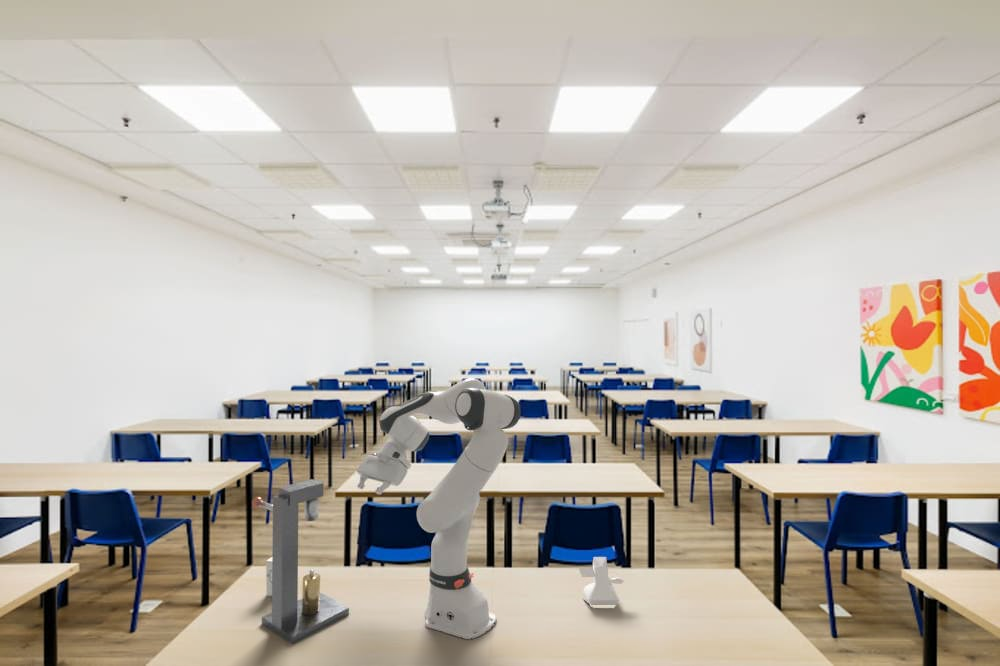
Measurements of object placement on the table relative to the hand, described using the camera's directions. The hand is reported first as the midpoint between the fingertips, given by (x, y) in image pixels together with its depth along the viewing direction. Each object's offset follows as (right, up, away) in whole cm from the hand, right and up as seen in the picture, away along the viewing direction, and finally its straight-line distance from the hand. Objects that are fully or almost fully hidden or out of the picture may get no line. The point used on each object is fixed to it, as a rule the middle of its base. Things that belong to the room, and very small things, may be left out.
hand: (368, 490), depth 177 cm
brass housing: (-13, -30, -19) cm, 38 cm away
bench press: (-17, -32, -18) cm, 41 cm away
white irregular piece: (+78, -34, -10) cm, 86 cm away
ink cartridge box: (-29, -32, -4) cm, 43 cm away
